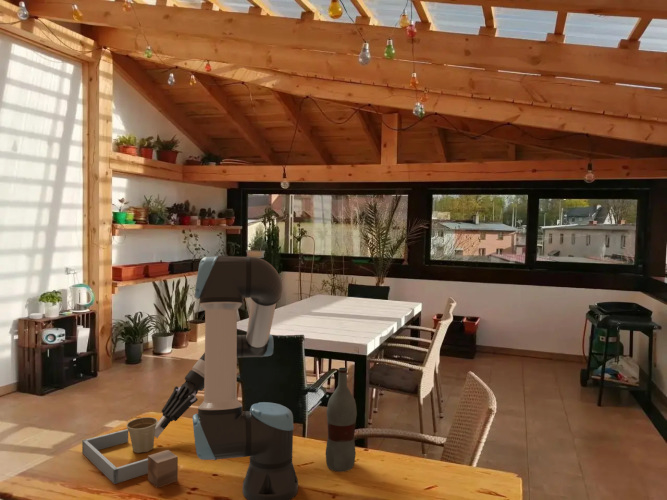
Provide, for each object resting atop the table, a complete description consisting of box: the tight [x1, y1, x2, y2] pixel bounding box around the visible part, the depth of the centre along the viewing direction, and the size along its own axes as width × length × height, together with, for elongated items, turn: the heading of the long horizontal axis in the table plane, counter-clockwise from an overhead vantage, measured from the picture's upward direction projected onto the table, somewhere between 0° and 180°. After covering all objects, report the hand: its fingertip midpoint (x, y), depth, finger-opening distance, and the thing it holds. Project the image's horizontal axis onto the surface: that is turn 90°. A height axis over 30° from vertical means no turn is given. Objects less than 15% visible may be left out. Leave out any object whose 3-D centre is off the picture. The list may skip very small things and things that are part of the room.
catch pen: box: [81, 428, 148, 485], centre depth 156 cm, size 26×14×4 cm, turn 44°
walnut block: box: [147, 449, 179, 488], centre depth 145 cm, size 6×6×7 cm
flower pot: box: [125, 416, 159, 454], centre depth 164 cm, size 9×9×9 cm
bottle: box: [325, 367, 358, 473], centre depth 156 cm, size 9×9×30 cm
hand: (153, 435), depth 168 cm, fingers closed
